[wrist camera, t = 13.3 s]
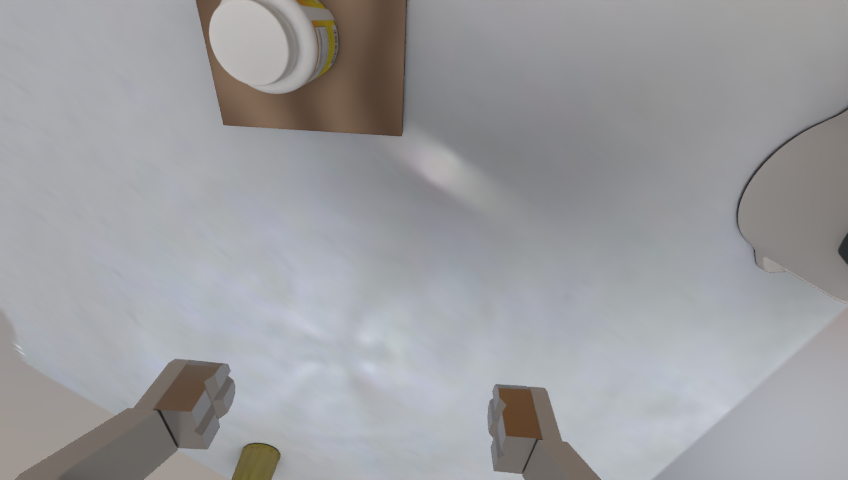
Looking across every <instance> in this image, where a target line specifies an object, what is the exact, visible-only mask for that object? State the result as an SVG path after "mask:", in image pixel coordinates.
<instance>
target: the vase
mask: <svg viewBox="0 0 848 480" xmlns="http://www.w3.org/2000/svg"><path fill="white" fill-rule="evenodd" d="M279 459H280V454H279V452H278V451H277V450H276V449H275V448H273V447H271V446H269V445H265V444H250V445H248V446H246V447H244V448H243V450H242V453H241V456H240V459H239V462H238V464H237V467H236V469H235V472H234V474H233V477H232V480H271V479H272V476H273V474H274V471H275V468H276V466H277V463H278V461H279Z"/></svg>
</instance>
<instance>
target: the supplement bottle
mask: <svg viewBox="0 0 848 480" xmlns="http://www.w3.org/2000/svg"><path fill="white" fill-rule="evenodd" d="M209 38H210V43H211V47H212V50H213V52H214V54H215V56H216V58H217V60H218V62H219V63H220V64H221V66H222V67H223V68H224V69H225V70H226V71H227V72H228V73H229V74H230V75H231V76H233V77H234V78H236V79H237V80H239V81H241V82H243V83H245V84H248V85H249V86H251V87H253V88H255V89H257V90H259V91H262V92H266V93H271V94H283V93H288V92H291V91H294V90H296V89H298V88H300V87H301V86H303V85H305V84H307V83H308V82H310V81H312V80H314V79H315V78H317V77H319V76H320V75H322V74H324V73H326V72H327V71H328V70H329V69H330V68H331V67H332V66H333V64H334V63H335V61H336V59H337V56H338V53H339V48H340V35H339V30H338V27H337V24H336V21H335V19H334V17H333V15H332V14H331V12H330V11H329V9H328V8H327V7H326V6H325V5H324V4H323V3H322V2H321V1H320V0H222V1H221V3H220V5H219V7H218V8H217V9H216V10H215V11H214V13H213V15H212V18H211V21H210V26H209Z"/></svg>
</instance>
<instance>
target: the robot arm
mask: <svg viewBox="0 0 848 480" xmlns="http://www.w3.org/2000/svg"><path fill="white" fill-rule="evenodd" d="M738 224H739V229H740V231H741V233H742V235H743V237H744V238H745V239H746V240H747V241H748V242H749V243H750V244H751V245H752V247H753V248H754V250H755V256H756V263H757V265H758V267H760V268H761V269H763V270H765V271H767V272H770V273H774V272H784V271H788V272H789V273H791V274H793V275H794V276H796V277H798V278H799V279H801V280H803V281H805V282H806V283H808V284H810V285H811V286H813V287H815V288H817V289H818V290H820V291H822V292H823V293H825V294H827V295H829V296H830V297H832V298H834V299H836V300H838V301H840V302H843V303H848V110H846V111H845V112H843V113H842V114H840V115H838V116H836V117H834V118H832V119H830V120H827V121H825V122H823V123H821V124H818V125H816V126H814V127H812V128H810V129H809V130H807V131H805V132H803V133H802V134H800V135H798V136H797V137H795V138H794V139H792V140H791V141H789V142H788V143H787V144H785V145H784V146H783V147H782V148H780V149H779V150H778V151H777V152H776V153H775V154H773V155H772V156H771V157H770V158H769V159H768V160H767V161H766V162H765V163H764V165H763V166H762V167H761V168H760V169H759V170H758V172H757V173H756V174H755V176H754V177H753V178H752V180H751V181H750V183H749V185H748V186H747V188H746V190H745V192H744V194H743V197H742V199H741V202H740V206H739V211H738ZM229 373H230V368H229V365H228V364H225V363H215V362H204V361H194V360H184V359H174V360H173V361H171V362H170V363H168V365H167V366H166V367H165V368H164V370H163V371H162V372H161V374H160V375H159V376H158V377H157V379H156V380H155V381H154V382H153V384H152V385H151V386H150V388H149V389H148V390H147V391H146V393H145V394H144V395H143V396H142V398H141V399H140V400H139V402H138V403H137V404H136V405H135V407H134V408H127V409H126V410H124V411H122V412H121V413H119V414H118V415H116V416H114V417H113V418H111V419H109V420H108V421H106V422H104V423H103V424H101V425H100V426H98V427H96V428H95V429H93V430H91V431H90V432H88V433H86V434H85V435H83V436H82V437H80V438H78V439H77V440H75V441H73V442H72V443H70V444H68V445H67V446H65V447H64V448H62V449H60V450H59V451H57V452H55V453H54V454H52V455H51V456H49V457H47V458H46V459H44V460H42V461H41V462H39V463H37V464H36V465H34V466H33V467H31V468H29V469H28V470H26V471H24V472H23V473H21V474H20V475H19V476H18V477H17V478H16V479H15V480H144V479H145V478H146V477H147V476H148V475H149V474H150V473H152V472H153V471H154V470H155V469H156V468H157V467H158V466H160V465H161V464H162V463H163V462H164V461H165V460H167V459H168V458H169V457H170V456H171V455H172V454H173V453H175V452H176V451H177V450H178V449H177V448H189V449H208V448H209V446H210V444H211V442H212V441H213V439H214V437H215V435H216V433H217V431H218V429H219V428H220V425H219V418H221V417H222V416H224V415H225V414H226V413H228V411H229V409H230V407H231V405H232V403H233V399H234V395H235V384H234V380H232V379H231V378H230V377H229V376H228V375H229ZM492 392H493V399H491V400H490V402H489V406H488V430H489V433H490V435H491V436H492V437H493V441H492V445H491V454H492V462H493V469H494V471H499V472H509V473H518V474H523V475H522V476H523V478H524V479H525V480H601V479H600V478H599V477H598V476H597V474H596V473H595V472H594V471H593V470H592V469H591V468H590V467H589V466H588V464H587V463H586V462H585V461H584V460H583V459H582V458H581V457H580V456H579V454H578V453H577V452H576V451H575V450H574V449H573V448H572V447H571V446H570V444H569V443H568V442H564V441H562V439H561V436H560V433H559V429H558V426H557V423H556V419H555V416H554V413H553V409H552V406H551V403H550V399H549V396H548V393H547V391H546V389H545V388H540V387H527V386H517V385H501V384H496V385H495V386H494V388H493V391H492Z"/></svg>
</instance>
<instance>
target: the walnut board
mask: <svg viewBox="0 0 848 480" xmlns="http://www.w3.org/2000/svg"><path fill="white" fill-rule="evenodd" d="M221 1H222V0H196V3H197V8H198V12H199V17H200V21H201V26H202V30H203V35H204V39H205V44H206V48H207V53H208V57H209V62H210V66H211V71H212V75H213V80H214V84H215V89H216V93H217V98H218V102H219V107H220V111H221V116H222V120H223V125H230V126H246V127H262V128H278V129H294V130H310V131H326V132H341V133H357V134H373V135H389V136H402V131H403V99H404V68H405V37H406V6H407V0H320V1H321V2H322V3H323V4H324V5H325V6H326V7H327V8H328V9H329V11H330V12H331V14H332V15H333V17H334V19H335V21H336V24H337V27H338V30H339V35H340V48H339V53H338V56H337V59H336V61H335V63H334V64H333V66H332V67H331V68H330V69H329V70H328V71H327V72H326V73H324V74H322V75H320V76H319V77H317V78H315V79H314V80H312V81H310V82H308V83H307V84H305V85H303V86H301V87H300V88H298V89H296V90H294V91H291V92H288V93H283V94H271V93H266V92H262V91H259V90H257V89H255V88H253V87H251V86H249V85H248V84H245V83H243V82H241V81H239V80H237V79H236V78H234V77H233V76H231V75H230V74H229V73H228V72H227V71H226V70H225V69H224V68H223V67H222V66H221V64H220V63H219V62H218V60H217V58H216V56H215V54H214V52H213V50H212V47H211V43H210V38H209V26H210V21H211V18H212V15H213V13H214V11H215V10H216V9H217V8H218V7H219V5H220V3H221Z"/></svg>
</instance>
